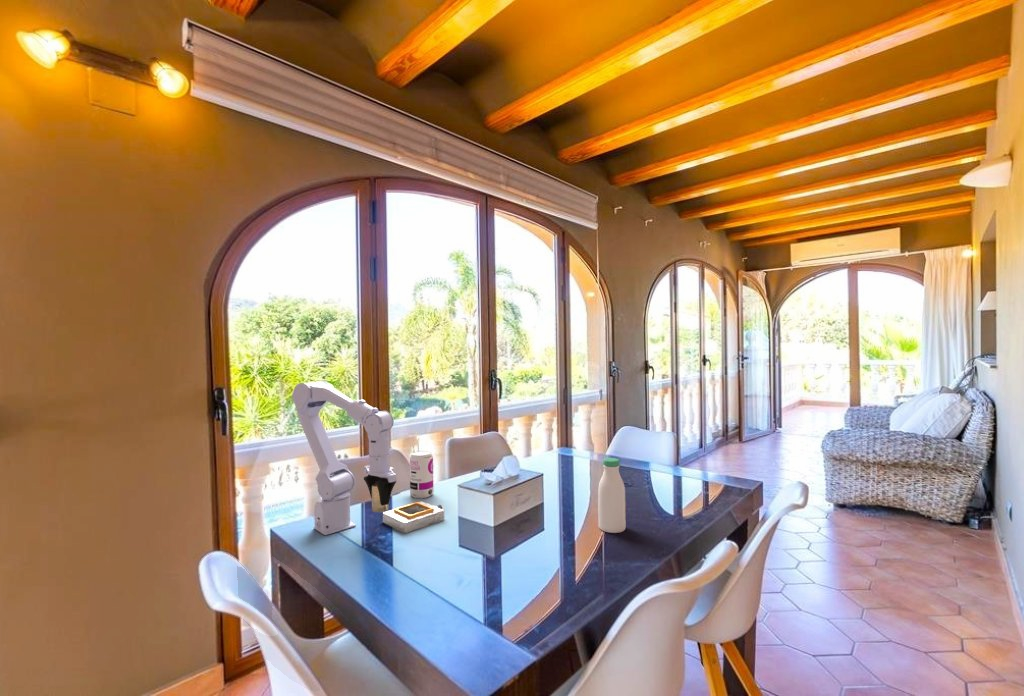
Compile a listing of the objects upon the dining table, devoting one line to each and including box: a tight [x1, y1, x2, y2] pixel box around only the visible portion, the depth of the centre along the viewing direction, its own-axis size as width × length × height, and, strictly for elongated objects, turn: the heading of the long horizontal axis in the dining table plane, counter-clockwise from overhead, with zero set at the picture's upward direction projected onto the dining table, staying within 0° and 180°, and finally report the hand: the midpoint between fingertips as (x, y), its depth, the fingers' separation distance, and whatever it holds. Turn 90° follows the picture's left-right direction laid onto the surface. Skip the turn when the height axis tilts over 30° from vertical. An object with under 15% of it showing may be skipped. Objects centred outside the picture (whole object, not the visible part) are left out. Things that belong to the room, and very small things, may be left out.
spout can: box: [371, 483, 389, 513], centre depth 133 cm, size 6×4×8 cm
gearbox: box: [382, 501, 445, 534], centre depth 142 cm, size 17×12×4 cm
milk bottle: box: [597, 457, 627, 534], centre depth 134 cm, size 8×8×20 cm
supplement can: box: [409, 450, 435, 499], centre depth 166 cm, size 8×8×15 cm
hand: (380, 502), depth 132 cm, fingers closed on spout can, 4 cm apart
